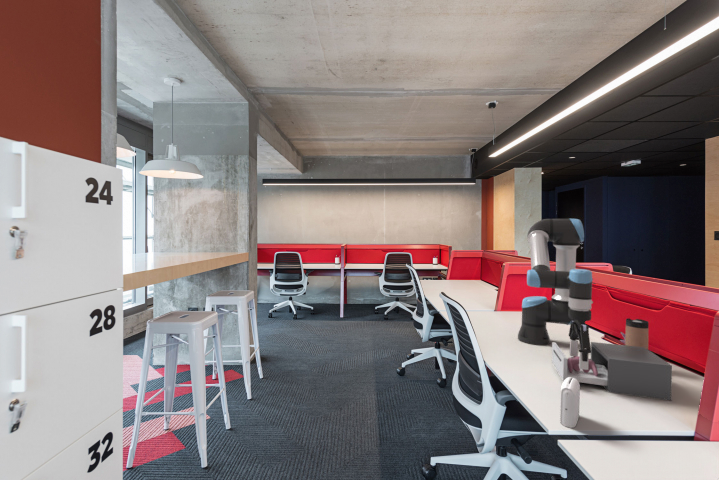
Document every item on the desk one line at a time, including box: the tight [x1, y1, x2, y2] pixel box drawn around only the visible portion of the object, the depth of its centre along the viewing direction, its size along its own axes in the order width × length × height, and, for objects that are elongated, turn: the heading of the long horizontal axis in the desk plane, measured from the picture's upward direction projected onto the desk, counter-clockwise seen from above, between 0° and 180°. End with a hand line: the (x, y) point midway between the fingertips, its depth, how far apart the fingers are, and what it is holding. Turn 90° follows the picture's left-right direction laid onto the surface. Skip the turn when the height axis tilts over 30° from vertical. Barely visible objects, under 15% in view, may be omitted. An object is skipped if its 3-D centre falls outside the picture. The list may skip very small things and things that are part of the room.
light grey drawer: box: [551, 341, 608, 387], centre depth 131 cm, size 18×20×9 cm
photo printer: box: [559, 377, 581, 429], centre depth 101 cm, size 10×4×12 cm, turn 140°
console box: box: [590, 341, 673, 401], centre depth 126 cm, size 18×20×12 cm
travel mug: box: [624, 317, 650, 350], centre depth 143 cm, size 8×8×20 cm
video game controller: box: [567, 355, 598, 376], centre depth 131 cm, size 10×5×7 cm, turn 71°
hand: (578, 362), depth 132 cm, fingers open, 13 cm apart
